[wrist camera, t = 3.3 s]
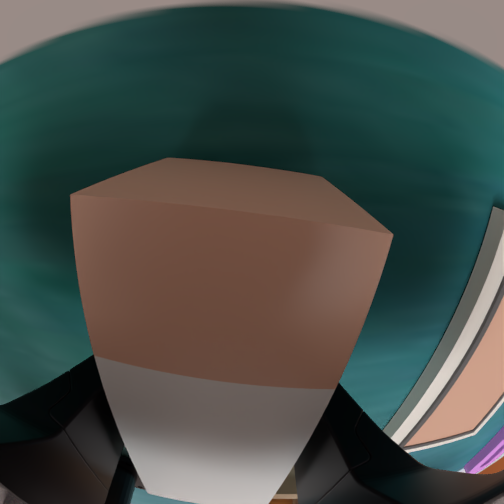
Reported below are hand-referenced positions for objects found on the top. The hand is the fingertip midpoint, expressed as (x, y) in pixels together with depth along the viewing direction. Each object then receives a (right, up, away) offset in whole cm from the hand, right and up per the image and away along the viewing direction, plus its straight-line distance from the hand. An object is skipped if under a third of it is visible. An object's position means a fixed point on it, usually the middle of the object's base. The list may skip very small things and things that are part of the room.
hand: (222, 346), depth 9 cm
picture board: (+15, -3, +3) cm, 15 cm away
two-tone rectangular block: (0, +1, +1) cm, 1 cm away
